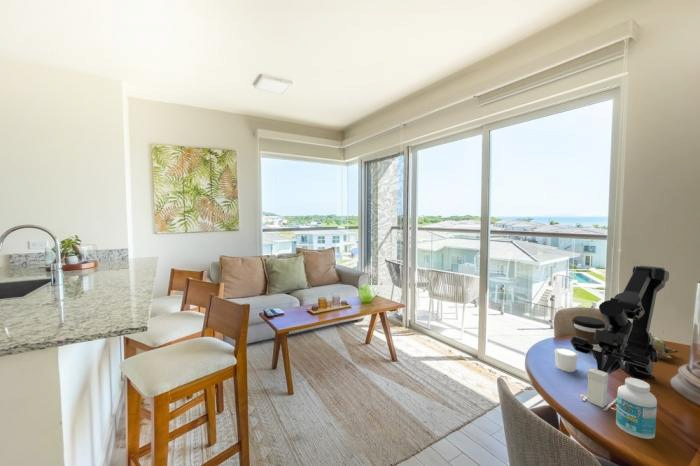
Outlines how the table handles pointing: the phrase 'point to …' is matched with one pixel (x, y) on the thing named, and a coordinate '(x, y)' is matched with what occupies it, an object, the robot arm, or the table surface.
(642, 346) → the robot arm
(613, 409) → the console
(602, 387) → the fader tab
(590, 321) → the coffee cup
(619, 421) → the pill bottle
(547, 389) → the table surface
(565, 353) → the white cylinder
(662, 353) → the ceramic sculpture
